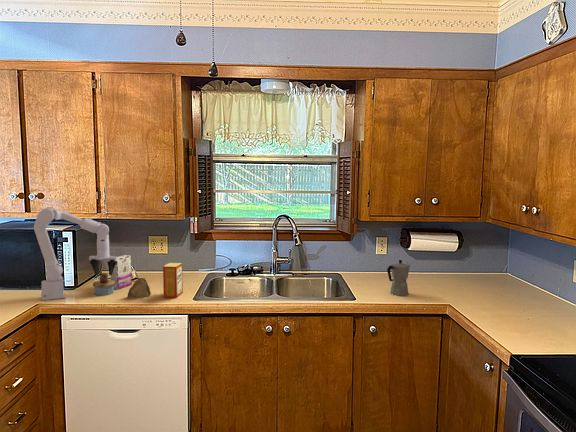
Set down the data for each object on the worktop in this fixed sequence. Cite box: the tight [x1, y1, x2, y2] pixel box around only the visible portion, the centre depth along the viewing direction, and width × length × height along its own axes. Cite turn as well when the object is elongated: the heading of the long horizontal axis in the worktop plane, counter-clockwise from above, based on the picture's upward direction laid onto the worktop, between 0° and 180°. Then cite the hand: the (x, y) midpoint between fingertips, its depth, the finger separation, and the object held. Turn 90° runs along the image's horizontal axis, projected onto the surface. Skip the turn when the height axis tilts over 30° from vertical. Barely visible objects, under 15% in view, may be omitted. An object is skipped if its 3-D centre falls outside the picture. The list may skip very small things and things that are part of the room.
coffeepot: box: [386, 259, 411, 297], centre depth 216 cm, size 15×9×18 cm, turn 119°
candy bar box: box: [110, 254, 133, 290], centre depth 225 cm, size 11×5×16 cm, turn 161°
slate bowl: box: [94, 285, 115, 297], centre depth 212 cm, size 9×9×4 cm
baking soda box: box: [162, 262, 184, 299], centre depth 210 cm, size 10×6×16 cm
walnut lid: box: [92, 272, 115, 288], centre depth 212 cm, size 10×10×6 cm
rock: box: [126, 277, 152, 299], centre depth 208 cm, size 11×9×10 cm
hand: (103, 274), depth 212 cm, fingers open, 7 cm apart
